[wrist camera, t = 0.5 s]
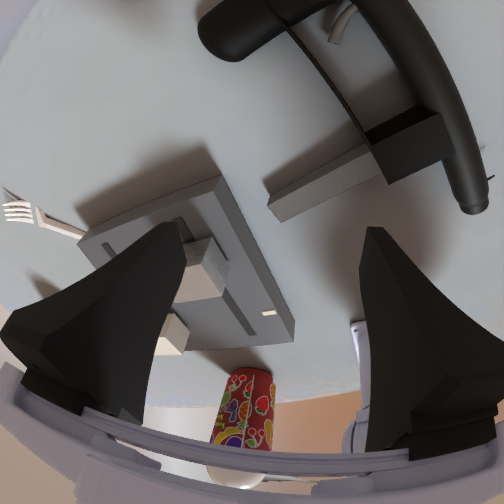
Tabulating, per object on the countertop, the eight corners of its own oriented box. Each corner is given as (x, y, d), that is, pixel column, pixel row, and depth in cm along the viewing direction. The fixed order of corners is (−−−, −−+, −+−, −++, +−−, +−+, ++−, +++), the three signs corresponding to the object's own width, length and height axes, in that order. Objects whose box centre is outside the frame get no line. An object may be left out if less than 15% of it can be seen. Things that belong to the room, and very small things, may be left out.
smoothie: (220, 359, 37) (185, 501, 22) (283, 365, 36) (262, 515, 21) (228, 384, 43) (202, 503, 27) (281, 389, 41) (264, 512, 26)
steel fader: (230, 267, 22) (222, 295, 20) (186, 277, 23) (175, 303, 21) (211, 236, 20) (200, 263, 18) (166, 249, 22) (152, 274, 19)
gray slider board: (294, 321, 30) (293, 342, 28) (177, 334, 35) (171, 351, 33) (222, 174, 20) (212, 191, 18) (89, 228, 25) (76, 244, 23)
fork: (155, 266, 29) (148, 279, 27) (15, 214, 27) (6, 223, 25) (157, 243, 27) (150, 256, 25) (11, 192, 24) (1, 201, 23)
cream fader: (190, 331, 28) (182, 354, 26) (160, 333, 30) (152, 355, 28) (174, 313, 27) (164, 337, 25) (144, 316, 28) (134, 338, 26)
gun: (322, 282, 22) (509, 201, 14) (136, 69, 14) (362, -85, 5) (323, 253, 25) (490, 178, 16) (161, 61, 16) (355, -67, 8)
